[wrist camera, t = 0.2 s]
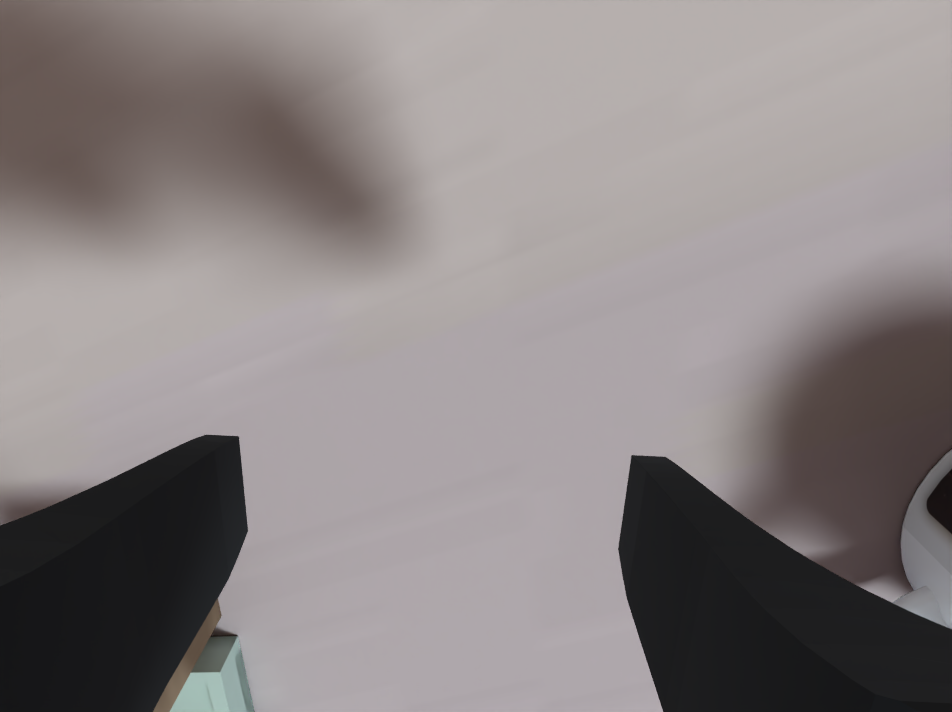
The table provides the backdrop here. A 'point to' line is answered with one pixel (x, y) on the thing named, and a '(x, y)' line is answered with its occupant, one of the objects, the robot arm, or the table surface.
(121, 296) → the table surface
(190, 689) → the tray
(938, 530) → the mug
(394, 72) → the table surface
